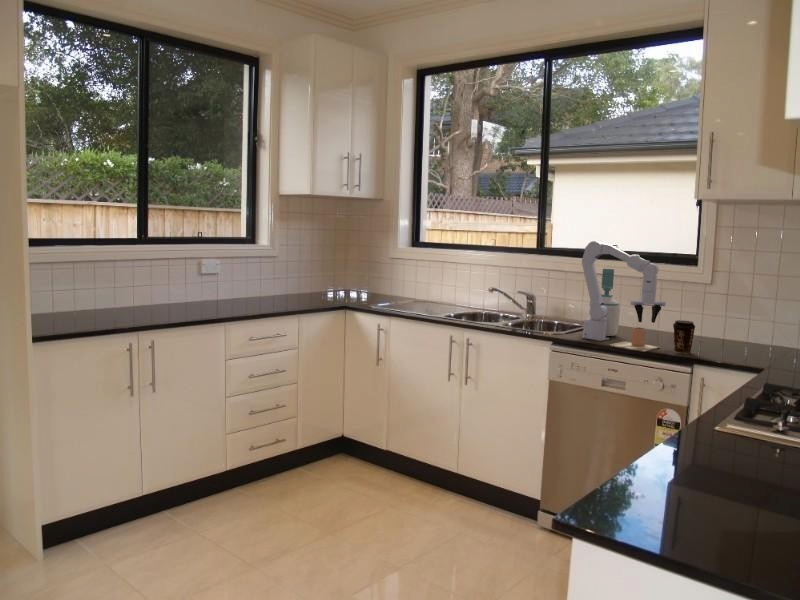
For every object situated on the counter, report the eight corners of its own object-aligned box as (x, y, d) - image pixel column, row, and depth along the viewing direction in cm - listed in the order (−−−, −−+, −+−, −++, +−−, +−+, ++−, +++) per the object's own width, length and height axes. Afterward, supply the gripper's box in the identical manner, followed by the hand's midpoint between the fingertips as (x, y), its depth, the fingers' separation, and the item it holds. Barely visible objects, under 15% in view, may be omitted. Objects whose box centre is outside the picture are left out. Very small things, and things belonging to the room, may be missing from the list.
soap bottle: (589, 336, 317) (594, 268, 314) (590, 332, 329) (594, 267, 325) (617, 338, 314) (622, 270, 310) (617, 334, 326) (622, 268, 322)
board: (608, 345, 294) (608, 344, 294) (624, 342, 303) (625, 341, 303) (644, 351, 282) (644, 350, 282) (659, 348, 292) (659, 347, 292)
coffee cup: (673, 349, 290) (675, 319, 288) (694, 352, 286) (696, 321, 284) (669, 352, 282) (672, 321, 281) (691, 355, 278) (693, 323, 277)
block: (631, 344, 295) (632, 327, 294) (635, 343, 298) (637, 326, 297) (640, 346, 292) (641, 328, 291) (644, 345, 295) (645, 328, 294)
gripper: (662, 290, 300) (659, 321, 302) (629, 289, 300) (626, 320, 302) (668, 292, 293) (665, 323, 295) (634, 291, 293) (632, 322, 295)
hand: (646, 322), depth 298 cm, fingers open, 5 cm apart
